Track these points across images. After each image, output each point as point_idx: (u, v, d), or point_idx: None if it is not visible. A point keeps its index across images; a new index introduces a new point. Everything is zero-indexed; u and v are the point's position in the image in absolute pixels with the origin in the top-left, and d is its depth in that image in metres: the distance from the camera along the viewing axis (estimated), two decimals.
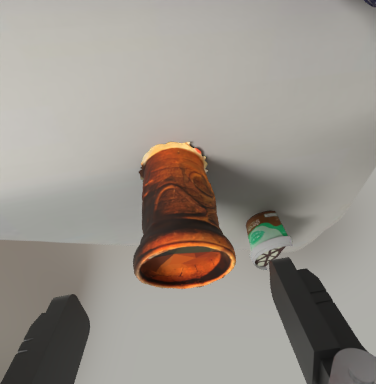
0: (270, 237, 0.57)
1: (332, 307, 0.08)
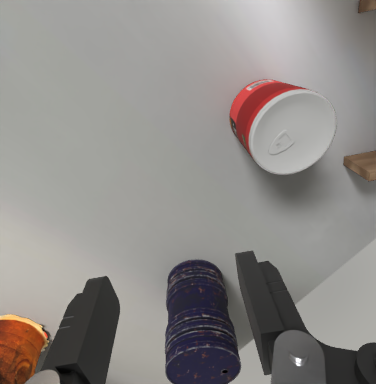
0: None
1: (286, 295, 0.09)
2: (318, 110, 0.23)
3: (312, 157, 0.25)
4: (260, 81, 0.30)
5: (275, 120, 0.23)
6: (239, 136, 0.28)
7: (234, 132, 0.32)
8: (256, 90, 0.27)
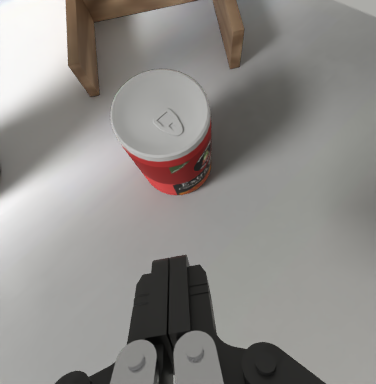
0: None
1: (205, 297, 0.09)
2: (134, 91, 0.21)
3: (187, 84, 0.20)
4: None
5: (141, 133, 0.20)
6: (182, 177, 0.23)
7: (191, 187, 0.27)
8: None
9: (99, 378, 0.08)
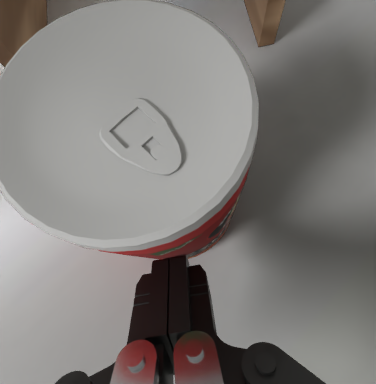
0: None
1: (205, 298, 0.09)
2: (55, 57, 0.08)
3: (193, 35, 0.08)
4: None
5: (68, 169, 0.07)
6: (182, 253, 0.11)
7: (200, 251, 0.14)
8: None
9: (99, 378, 0.08)
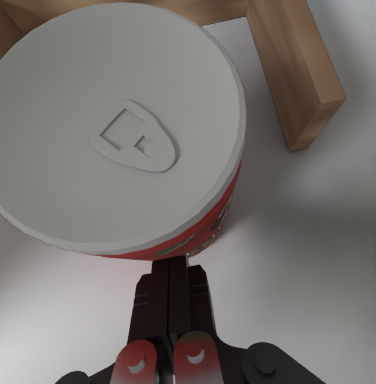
0: None
1: (205, 298, 0.09)
2: (35, 69, 0.08)
3: (170, 32, 0.08)
4: None
5: (63, 178, 0.07)
6: (185, 250, 0.11)
7: (202, 248, 0.14)
8: None
9: (99, 378, 0.08)
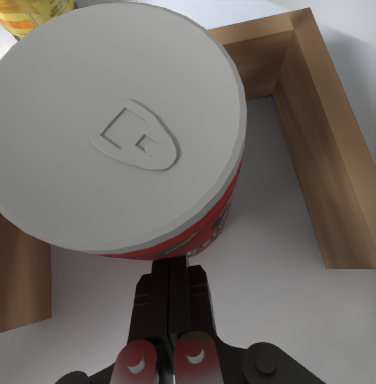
0: None
1: (205, 298, 0.09)
2: (34, 69, 0.08)
3: (169, 31, 0.08)
4: None
5: (64, 178, 0.07)
6: (187, 249, 0.11)
7: (203, 247, 0.14)
8: None
9: (99, 378, 0.08)
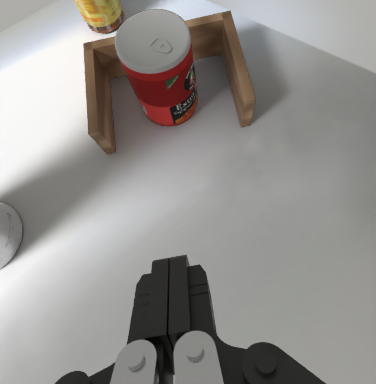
0: None
1: (205, 297, 0.09)
2: (130, 28, 0.27)
3: (170, 17, 0.27)
4: None
5: (141, 56, 0.26)
6: (176, 96, 0.30)
7: (184, 112, 0.33)
8: (138, 97, 0.32)
9: (99, 378, 0.08)
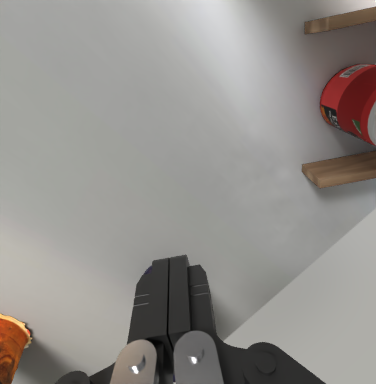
0: None
1: (205, 298, 0.09)
2: None
3: None
4: (353, 67, 0.32)
5: None
6: (344, 121, 0.30)
7: (329, 119, 0.34)
8: (358, 76, 0.29)
9: (99, 378, 0.08)
